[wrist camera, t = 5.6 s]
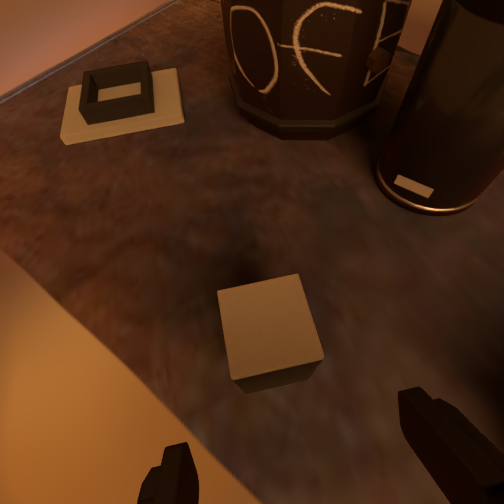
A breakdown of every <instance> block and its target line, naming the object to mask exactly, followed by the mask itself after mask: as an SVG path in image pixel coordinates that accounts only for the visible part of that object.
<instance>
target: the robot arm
mask: <svg viewBox="0 0 504 504" xmlns="http://www.w3.org/2000/svg"><path fill="white" fill-rule="evenodd" d="M503 169H504V0H443V1H442V4H441V6H440V9H439V11H438V14H437V16H436V19H435V21H434V24H433V26H432V29H431V31H430V34H429V36H428V39H427V41H426V44H425V46H424V49H423V51H422V54H421V56H420V59H419V61H418V64H417V66H416V69H415V71H414V74H413V76H412V79H411V81H410V84H409V86H408V89H407V91H406V94H405V96H404V99H403V101H402V104H401V106H400V109H399V111H398V114H397V116H396V119H395V121H394V124H393V126H392V129H391V131H390V133H389V136H388V138H387V141H386V143H385V146H384V148H383V151H382V152H381V154H380V156H379V158H378V161H377V163H376V166H375V177H376V180H377V183H378V185H379V187H380V188H381V190H382V191H383V192H384V193H385V195H386V196H388V197H389V198H390V199H391V200H392V201H394V202H395V203H396V204H398V205H400V206H401V207H404V208H406V209H408V210H410V211H413V212H416V213H420V214H424V215H431V216H447V215H453V214H457V213H460V212H462V211H464V210H466V209H468V208H469V207H471V206H472V205H473V204H474V203H475V202H476V201H477V200H478V198H479V197H480V196H481V195H482V193H483V192H484V190H485V189H486V188H487V187H488V185H489V184H490V183H491V182H492V181H493V180H494V179H495V178H496V177H497V176H498V174H499V173H500V172H501V171H502V170H503ZM398 403H399V416H400V425H401V429H402V432H403V434H404V437H405V438H406V440H407V442H408V443H409V445H410V446H411V448H412V449H413V451H414V452H415V453H416V455H417V456H418V458H419V459H420V461H421V462H422V463H423V465H424V466H425V468H426V469H427V471H428V472H429V473H430V475H431V476H432V478H433V479H434V481H435V482H436V483H437V485H438V486H439V488H440V489H441V491H442V492H443V493H444V495H445V496H446V498H447V499H448V500H449V502H450V503H451V504H504V454H503V453H502V452H500V451H499V450H498V449H497V448H496V447H495V446H494V445H493V444H492V443H491V442H490V441H489V440H488V439H487V438H486V437H485V436H484V435H483V434H482V433H480V432H479V430H478V429H477V428H476V427H475V426H474V425H473V424H472V423H470V422H469V420H468V419H467V418H466V417H465V416H464V415H463V414H462V413H461V412H460V411H459V410H458V409H457V408H456V407H454V406H452V405H451V404H449V403H447V402H445V401H444V400H442V399H440V398H438V399H434V400H433V399H432V398H431V397H430V396H429V395H428V394H427V393H426V392H425V391H424V390H423V389H422V388H421V387H414V388H410V389H406V390H402V391H399V392H398ZM198 502H199V480H198V474H197V471H196V467H195V464H194V461H193V458H192V455H191V452H190V448H189V445H188V443H187V442H184V443H180V444H176V445H171V446H167V447H166V448H165V450H164V454H163V459H162V463H161V466H157V467H153V468H151V470H150V471H149V473H148V475H147V476H146V478H145V480H144V481H143V483H142V485H141V489H140V493H139V497H138V501H137V504H198Z"/></svg>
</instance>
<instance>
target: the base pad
mask: <svg viewBox="0 0 504 504" xmlns="http://www.w3.org/2000/svg"><path fill="white" fill-rule="evenodd" d="M181 123H185V121H184V114H183V107H182V100H181V93H180V86H179V79H178V74H177V71H176V68H172V69H166V70H161V71H155V72H151V71H150V68H149V65H148V62H147V60H146V61H140V62H135V63H129V64H124V65H118V66H113V67H107V68H101V69H96V70H91V71H85V72H84V75H83V81H82V85H78V86H72V87H69V90H68V95H67V101H66V106H65V111H64V117H63V122H62V128H61V133H60V138H61V139H62V141H63V142H64V143H65V145H70V144H75V143H81V142H86V141H91V140H96V139H102V138H107V137H112V136H117V135H123V134H128V133H133V132H139V131H144V130H149V129H154V128H160V127H165V126H170V125H176V124H181Z"/></svg>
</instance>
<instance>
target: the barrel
mask: <svg viewBox="0 0 504 504" xmlns="http://www.w3.org/2000/svg"><path fill="white" fill-rule="evenodd" d="M411 2H412V0H221V7H222V14H223V22H224V30H225V38H226V45H227V49H228V54H229V58H230V63H231V67H232V71H233V73H232V74H231V75H230V77H229V80H230V83H231V86H232V89H233V93H234V96H235V99H236V102H237V105H238V107H239V110H240V112H241V113H242V114H244V115H246V116H247V118H248V121H249V123H251V124H253V125H255V126H257V127H258V128H260V129H262V130H264V131H266V132H268V133H270V134H272V135H274V136H276V137H278V138H280V139H282V140H329V139H331V138H333V137H335V136H337V135H339V134H341V133H343V132H345V131H347V130H349V129H351V128H353V127H355V126H357V125H359V124H361V123H363V121H364V119H365V118H366V116H368V115H370V114H373V113H374V112H375V110H376V109H377V107H378V105H379V102H380V99H381V96H382V94H383V91H384V88H385V85H386V82H387V79H388V74H387V72H388V69H389V67H390V64H391V61H392V58H393V56H394V53H395V50H396V47H397V44H398V42H399V39H400V36H401V33H402V30H403V26H404V23H405V20H406V17H407V14H408V11H409V8H410V5H411Z"/></svg>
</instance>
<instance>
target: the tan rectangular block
mask: <svg viewBox="0 0 504 504" xmlns="http://www.w3.org/2000/svg"><path fill="white" fill-rule="evenodd" d="M217 295H218V301H219V307H220V314H221V320H222V326H223V333H224V339H225V345H226V352H227V358H228V364H229V371H230V377H231V379H232V380H233V381H234V382H235V383H236V384H237V385H238V386H239V387H240V388H241V389H242V390H243V391H244V392H245V393H246V394H248V393H252V392H256V391H260V390H265V389H269V388H273V387H277V386H282V385H286V384H290V383H294V382H299V381H303V380H307V379H308V378H309V377H310V375H311V374H312V373H313V371H314V370H315V369H316V367H317V366H318V365H319V364H320V362H321V361H322V360H323V358H324V353H323V350H322V347H321V343H320V340H319V337H318V334H317V331H316V328H315V325H314V321H313V318H312V315H311V312H310V309H309V306H308V303H307V299H306V296H305V293H304V290H303V287H302V284H301V281H300V278H299V274H292V275H288V276H283V277H279V278H274V279H269V280H265V281H260V282H256V283H251V284H246V285H242V286H237V287H233V288H228V289H223V290H219V291H217Z"/></svg>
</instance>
